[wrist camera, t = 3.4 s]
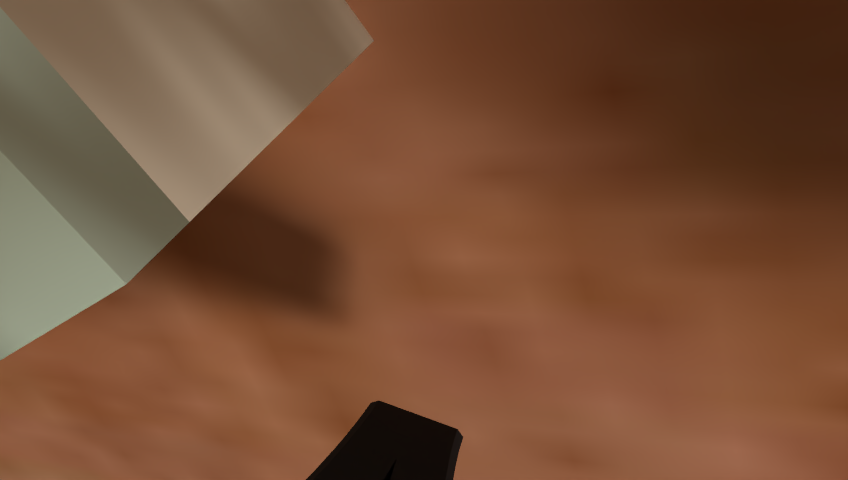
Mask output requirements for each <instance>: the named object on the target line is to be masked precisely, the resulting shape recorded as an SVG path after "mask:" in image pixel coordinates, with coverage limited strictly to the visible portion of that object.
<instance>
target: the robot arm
mask: <svg viewBox="0 0 848 480" xmlns="http://www.w3.org/2000/svg"><path fill="white" fill-rule="evenodd" d="M462 439H463V436H462V435H461V433H460V432H459V431H458V429H455V428H453V427H450V426H447V425H444V424H442V423H439V422H436V421H434V420H431V419H428V418H425V417H423V416H420V415H417V414H414V413H412V412H409V411H406V410H403V409H401V408H398V407H395V406H392V405H390V404H387V403H384V402H382V401H376V402H372V403H370V405H369V406H368V407H367V409H366V410H365V412H364V413H363V414H362V416H361V417H360V419H359V420H358V421H357V422H356V424H355V425H354V426H353V427H352V429H351V430H350V431H349V432H348V434H347V435H346V436H345V437H344V438H343V440H342V441H341V442H340V443H339V444H338V445H337V447H336V448H335V449H334V450H333V451H332V452H331V453H330V454H329V456H328V457H327V458H326V459H325V460H324V461H323V462H322V463H321V464H320V465H319V467H318V468H317V469H316V470H315V471H314V472H313V473H312V474H311V475H310V476H309V477H308V478H307V479H306V480H453V477H454V471H455V466H456V461H457V457H458V452H459V449H460V446H461V442H462Z"/></svg>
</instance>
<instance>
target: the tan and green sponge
mask: <svg viewBox="0 0 848 480" xmlns="http://www.w3.org/2000/svg"><path fill="white" fill-rule="evenodd" d="M373 41H374V40H373V39H372V37H371V36H370V35H369V33H368V32H367V30H366V29H365V28H364V26H363V25H362V23H361V22H360V21H359V19H358V18H357V16H356V15H355V14H354V12H353V11H352V10H351V8H350V7H349V5H348V4H347V3H346V1H345V0H0V360H1V359H3V358H5V357H6V356H8V355H10V354H11V353H13V352H15V351H16V350H18V349H20V348H21V347H23V346H25V345H26V344H28V343H30V342H31V341H33V340H35V339H36V338H38V337H40V336H41V335H43V334H45V333H46V332H48V331H50V330H51V329H53V328H55V327H56V326H58V325H59V324H61V323H63V322H64V321H66V320H68V319H69V318H71V317H73V316H74V315H76V314H78V313H79V312H81V311H83V310H84V309H86V308H88V307H89V306H91V305H93V304H94V303H96V302H98V301H99V300H101V299H103V298H104V297H106V296H108V295H109V294H111V293H113V292H114V291H116V290H118V289H119V288H121V287H123V286H124V285H126V284H127V283H128V282H129V281H130V280H131V279H132V278H133V277H134V276H135V275H136V274H137V273H138V272H139V271H140V270H141V269H142V268H143V267H144V266H145V265H146V264H147V263H148V262H149V261H150V260H152V259H153V258H154V257H155V256H156V255H157V254H158V253H159V252H160V251H161V250H162V249H163V248H164V247H165V246H166V245H167V244H168V243H169V242H170V241H171V240H172V239H173V238H174V237H175V236H176V235H177V234H178V233H179V232H180V231H181V230H182V229H183V228H184V227H185V226H186V225H187V224H188V223H189V222H190V221H191V220H192V219H193V218H194V217H195V216H196V215H197V214H198V213H199V212H200V211H201V210H202V209H203V208H204V207H205V206H206V205H207V204H208V203H209V202H210V201H211V200H212V199H213V198H215V197H216V196H217V195H218V194H219V193H220V192H221V191H222V190H223V189H224V188H225V187H226V186H227V185H228V184H229V183H230V182H231V181H232V180H233V179H234V178H235V177H236V176H237V175H238V174H239V173H240V172H241V171H242V170H243V169H244V168H245V167H246V166H247V165H248V164H249V163H250V162H251V161H252V160H253V159H254V158H255V157H256V156H257V155H258V154H259V153H260V152H261V151H262V150H263V149H264V148H265V147H266V146H267V145H268V144H269V143H270V142H271V141H272V140H273V139H274V138H275V137H276V136H278V135H279V134H280V133H281V132H282V131H283V130H284V129H285V128H286V127H287V126H288V125H289V124H290V123H291V122H292V121H293V120H294V119H295V118H296V117H297V116H298V115H299V114H300V113H301V112H302V111H303V110H304V109H305V108H306V107H307V106H308V105H309V104H310V103H311V102H312V101H313V100H314V99H315V98H316V97H317V96H318V95H319V94H320V93H321V92H322V91H323V90H324V89H325V88H326V87H327V86H328V85H329V84H330V83H331V82H332V81H333V80H334V79H335V78H336V77H337V76H338V75H339V74H341V73H342V72H343V71H344V70H345V69H346V68H347V67H348V66H349V65H350V64H351V63H352V62H353V61H354V60H355V59H356V58H357V57H358V56H359V55H360V54H361V53H362V52H363V51H364V50H365V49H366V48H367V47H368V46H369V45H370V44H371V43H372V42H373Z"/></svg>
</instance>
